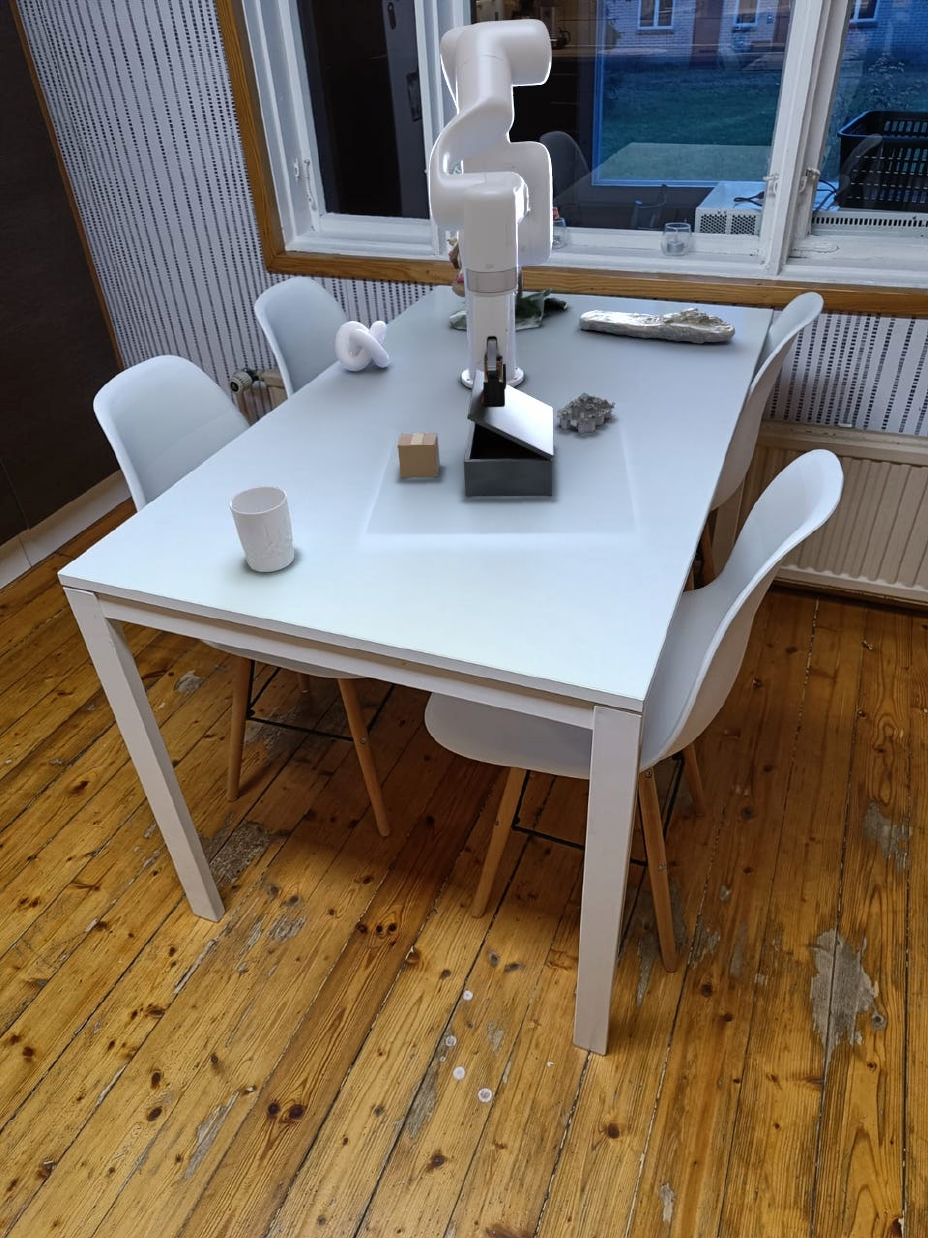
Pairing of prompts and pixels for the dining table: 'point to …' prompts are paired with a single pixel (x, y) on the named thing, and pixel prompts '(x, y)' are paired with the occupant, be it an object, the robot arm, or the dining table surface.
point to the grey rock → (585, 413)
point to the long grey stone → (661, 325)
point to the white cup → (264, 527)
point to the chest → (503, 466)
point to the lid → (514, 417)
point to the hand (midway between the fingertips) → (495, 396)
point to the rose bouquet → (525, 306)
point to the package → (419, 455)
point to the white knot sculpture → (361, 345)
